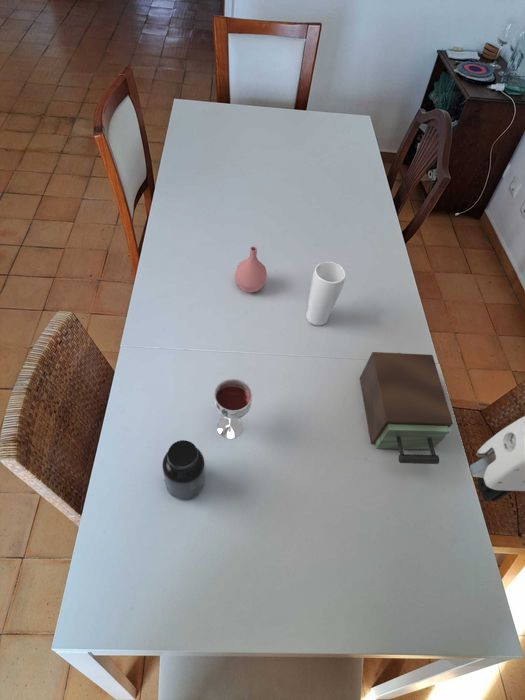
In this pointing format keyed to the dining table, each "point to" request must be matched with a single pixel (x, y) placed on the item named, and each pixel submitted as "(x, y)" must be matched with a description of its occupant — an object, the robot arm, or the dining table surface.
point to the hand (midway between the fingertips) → (486, 490)
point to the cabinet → (402, 392)
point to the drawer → (413, 441)
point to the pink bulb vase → (251, 273)
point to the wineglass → (232, 406)
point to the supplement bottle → (184, 470)
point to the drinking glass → (324, 291)
